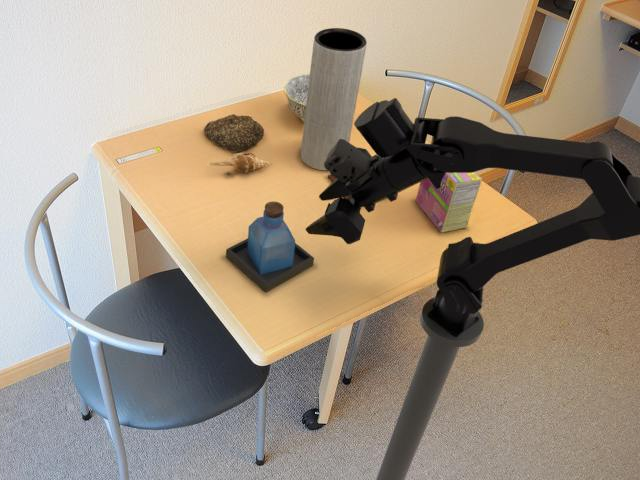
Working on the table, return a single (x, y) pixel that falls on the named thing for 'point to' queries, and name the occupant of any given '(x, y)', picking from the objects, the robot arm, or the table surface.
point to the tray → (271, 279)
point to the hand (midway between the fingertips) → (314, 214)
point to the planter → (331, 92)
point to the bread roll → (234, 132)
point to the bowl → (297, 94)
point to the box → (449, 200)
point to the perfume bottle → (271, 240)
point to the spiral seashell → (242, 162)
